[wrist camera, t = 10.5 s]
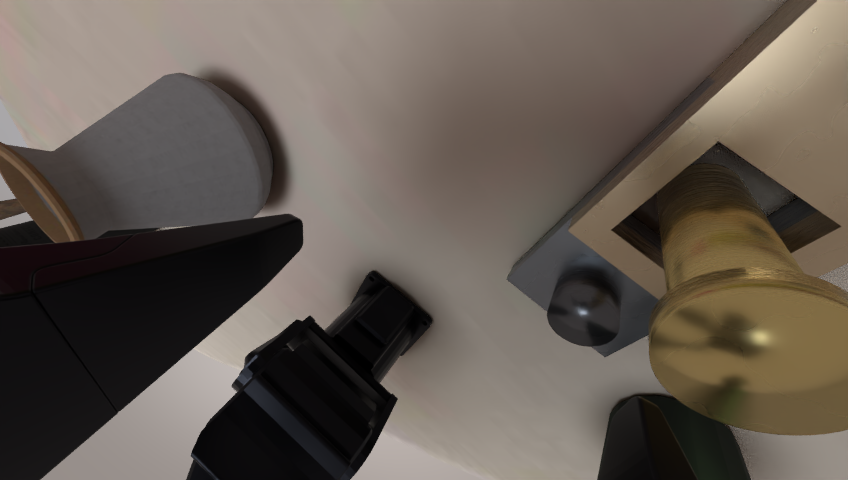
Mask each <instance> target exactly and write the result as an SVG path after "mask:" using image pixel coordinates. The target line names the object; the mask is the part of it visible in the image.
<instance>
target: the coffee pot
mask: <svg viewBox="0 0 848 480" xmlns="http://www.w3.org/2000/svg"><path fill="white" fill-rule="evenodd" d="M0 173H1V175H2V177H3V179H4V180H5V182H6V184H7V185H8V186H9V188H10V190H11V191H12V193H13V194H14V196H15V197H16V198H17V199H11V200H5V201H0V220H2V219H5V218H8V217H12V216H15V215H18V214H21V213H24V212H27V213H28V214H29V215H30V216H31V218H32V219H33V220H34V221H35V222H36V224H37V225H38V226H39V227H40V228H41V229H42V230H43V231H44V232H45V233H46V234H47V235H48V236H49V237H50V238H51V239H52V240H53V241H54V242H55V243H58V242H69V241H80V240H89V239H96V238H98V237H99V236H101V235H102V234H104V233H105V232H107V231H109V230H127V229H145V228H162V227H180V226H197V225H206V224H213V223H221V222H229V221H236V220H244V219H251V218H253V217H254V216H255V215H257V214H258V213H259V212H260V210H261V209H262V208H263V206H264V205H265V203H266V201H267V198H268V196H269V193H270V188H271V178H272V176H273V159H272V153H271V150H270V147H269V144H268V140H267V138H266V136H265V134H264V132H263V130H262V128H261V127H260V125H259V124H258V122H257V121H256V119H255V118H254V117H253V115H252V114H251V113H250V112H249V111H248V110H247V109H246V108H245V107H244V106H243V105H242V104H240V103H239V102H237V101H236V100H235V99H234V98H233V97H231V96H230V95H228V94H227V93H226V92H224V91H223V90H221V89H220V88H218V87H217V86H215V85H214V84H213V83H211V82H209V81H206V80H203V79H200V78H197V77H193V76H190V75H187V74H184V73H175V74H169V75H165V76H163V77H162V78H160V79H159V80H157V81H156V82H154V83H153V84H151V85H150V86H148V87H147V88H145V89H144V90H143V91H141V92H140V93H138V94H137V95H135V96H134V97H132V98H131V99H129V100H128V101H126V102H125V103H124V104H122V105H121V106H119V107H118V108H116V109H115V110H113V111H112V112H110V113H109V114H107V115H106V116H104V117H103V118H102V119H100V120H99V121H97V122H96V123H94V124H93V125H91V126H90V127H88V128H87V129H85V130H84V131H82V132H81V133H80V134H78V135H77V136H75V137H74V138H72V139H71V140H69V141H68V142H66V143H65V144H63V145H62V146H60V147H59V148H58V149H56V150H55V151H44V150H38V149H31V148H24V147H18V146H11V145H5V144H3V143H1V142H0Z"/></svg>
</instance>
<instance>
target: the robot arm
mask: <svg viewBox="0 0 848 480" xmlns="http://www.w3.org/2000/svg"><path fill="white" fill-rule="evenodd" d="M302 245H303V223H302V221H301V220H300V219H299V218H297V217H295V216H293V215H291V214H282V215H274V216H266V217H259V218H251V219H244V220H236V221H229V222H221V223H213V224H206V225H198V226H191V227H183V228H175V229H168V230H160V231H153V232H145V233H137V234H135V235H133V234H129V235H122V236H115V237H106V238H98V239H89V240H80V241H69V242H58V243H47V244H35V245H23V246H12V247H0V480H40V479H42V478H43V477H44V476H45V475H46V474H47V473H48V472H50V471H51V470H52V469H53V468H54V467H56V466H57V465H58V464H59V463H60V462H61V461H63V460H64V459H65V458H66V457H67V456H68V455H70V454H71V453H72V452H73V451H74V450H75V449H77V448H78V447H79V446H80V445H81V444H82V443H84V442H85V441H86V440H87V439H88V438H89V437H91V436H92V435H93V434H94V433H95V432H96V431H98V430H99V429H100V428H101V427H102V426H103V425H104V424H106V423H107V422H108V421H109V420H110V419H111V418H113V417H114V416H115V415H116V414H117V413H118V412H119V411H121V410H122V409H123V408H124V407H125V406H126V405H128V404H129V403H130V402H131V401H132V400H133V399H135V398H136V397H137V396H138V395H139V394H140V393H142V392H143V391H144V390H145V389H146V388H147V387H149V386H150V385H151V384H152V383H153V382H154V381H156V380H157V379H158V378H159V377H160V376H162V375H163V374H164V373H165V372H166V371H167V370H168V369H170V368H171V367H172V366H173V365H174V364H176V363H177V362H178V361H179V360H180V359H181V358H182V357H184V356H185V355H186V354H187V353H188V352H189V351H191V350H192V349H193V348H194V347H195V346H197V345H198V344H199V343H200V342H201V341H202V340H204V339H205V338H206V337H207V336H208V335H209V334H211V333H212V332H213V331H214V330H215V329H216V328H218V327H219V326H220V325H221V324H222V323H223V322H225V321H226V320H227V319H228V318H229V317H230V316H232V315H233V314H234V313H235V312H236V311H237V310H239V309H240V308H241V307H242V306H243V305H244V304H246V303H247V302H248V301H249V300H250V299H251V298H253V297H254V296H255V295H256V294H257V293H258V292H259V291H261V290H262V289H263V288H264V287H265V286H266V285H267V284H268V283H269V282H270V281H271V280H272V279H273V278H274V277H275V276H276V275H277V274H278V273H279V272H280V271H281V270H282V268H283V267H284V266H285V265H286V264H287V263H288V262H289V261H290V260H291V259H292V258H293V257H294V256H295V255H296V254H297V253H298V252H299V251H300V249H301V248H302ZM431 324H432V319H431V318H430V317H429V316H428V315H427V314H425V313H424V312H423V311H422V310H421V309H419V308H418V307H417V306H416V305H415V304H413V303H412V302H411V301H410V300H409V299H407V298H406V297H405V296H404V295H403V294H401V293H400V292H399V291H398V290H396V289H395V288H394V287H393V286H392V285H390V284H389V283H388V282H387V281H386V280H384V279H383V278H382V277H381V276H380V275H378V274H377V273H376V272H374V271H371V272H370V273H369V274H368V275H367V276H366V278H365V280H364V281H363V283H362V285H361V287H360V289H359V290H358V292H357V294H356V296H355V298H354V299H353V301H352V303H351V305H350V306H349V307H348V308H347V309H346V310H345V311H344V312H343V313H342V314H341V315H340V316H339V317H338V318H337V319H336V320H335V321H334V322H333V323H332V324H331V325H329V326H328V327H327V328H326V329H325V330H323V329H322V328H321V327H320V326H319V325H318V324H317V323H316V322H315V320H314V319H313V318H312V317H311V316H309V317H307V318H306V319H305V320H303V321H300V320H297V319H296V320H295V321H294V322H293V323H292V324H291V325H289V326H288V327H287V328H286V329H285V330H284V331H282V332H281V333H280V334H278V335H277V336H276V337H274V338H272V339H271V340H269V341H267V342H266V343H264V344H263V345H261V346H259V347H258V348H256V349H255V350H253V351H252V352H250V353H249V354H248V355H247V356H246V357H245V363H244V369H243V370H242V371H241V372H240V374H239V376H238V378H237V379H236V380H235V381H234V383H233V384H232V388H234V389H235V390H236V391H237V393H236V394H235V395H234V396H233V397H232V398H231V399H230V400H229V401H228V402H227V403H226V404H225V405H224V406H223V407H222V408H221V409H220V410H219V411H218V412H217V413H216V414H215V415H214V416H213V417H212V418H211V419H210V421H209V422H208V423H207V425H206V427H205V428H204V429H203V430H202V431H201V433H200V435H199V437H198V439H197V442H196V444H195V446H194V448H193V450H192V453H191V457H192V458H193V459H194V460H193V463H192V465H191V468H190V471H189V473H188V476H187V479H186V480H350V479H351V478H352V477H353V476H354V475H355V473H356V472H357V471H358V470H359V468H360V467H361V466H362V465H363V463H364V462H365V460H366V459H367V457H368V456H369V454H370V453H371V451H372V449H373V447H374V445H375V443H376V441H377V439H378V437H379V435H380V433H381V431H382V429H383V427H384V425H385V424H386V422H387V420H388V418H389V416H390V414H391V412H392V410H393V408H394V406H395V404H396V402H397V399H398V398H397V397H395V396H394V395H393V394H390V393H389V392H388V391H387V390H386V389H385V388H384V387H383V386H382V385H381V384H380V382H381V381H382V379H383V378H384V377H385V375H386V374H387V372H388V371H389V370H390V368H391V367H392V366H393V364H394V363H395V361H396V360H397V359H398V357H399V356H402V355H404V354H405V352H406V351H407V350H408V349H409V348H410V347H411V346H412V345H413V344H414V343H415V342H416V341H417V340H418V339H419V338H420V337H421V336H422V334H423V333H424V332H425V331H426V330H427V329H428V328H429V327H430V326H431ZM598 480H698V478H697V476H696V475H695V473H694V471H693V469H692V467H691V465H690V463H689V462H688V460H687V458H686V456H685V454H684V452H683V450H682V449H681V447H680V445H679V443H678V441H677V439H676V437H675V435H674V434H673V432H672V430H671V428H670V426H669V424H668V422H667V421H666V419H665V417H664V415H663V413H662V411H661V410H660V408H659V407H658V406H657V405H655V404H653V403H652V402H650V401H648V400H646V399H644V398H642V397H640V396H635V397H633V398H632V399H631V400H629V401H628V402H627V403H626V404H625V405H624V406H623V407H622V408H621V409H620V410H619V411H617V412H616V414H615V415H614V416H613V418H612V421H611V424H610V428H609V433H608V437H607V442H606V446H605V451H604V455H603V460H602V464H601V469H600V473H599V478H598Z"/></svg>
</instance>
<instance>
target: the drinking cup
mask: <svg viewBox="0 0 848 480" xmlns="http://www.w3.org/2000/svg"><path fill="white" fill-rule="evenodd" d="M157 229H159V228H145V229H127V230H109V231H107V232H105V233H104V234H102V235H101V236H99V237H98V238H106V237H115V236H122V235H129V234H133V235H135V234H137V233H145V232H153V231H155V230H157ZM98 238H96V239H98ZM47 243H55V242H54V241H53V240H52V239H51V238H50V237H49V236H48V235H47V234H46V233H45V232H44V231H43V230H42V229H41V228H40V227H39V226H38V225H37V224H36V222H35V221H34V220H33V221H29V222H25V223H21V224H17V225H13V226H8V227H4V228H0V247H12V246H23V245H35V244H47Z"/></svg>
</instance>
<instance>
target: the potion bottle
mask: <svg viewBox="0 0 848 480" xmlns="http://www.w3.org/2000/svg"><path fill="white" fill-rule="evenodd" d="M640 397H642V398H644V399H646V400H648V401H650V402H652V403H653V404H655V405H657V406H658V407H659V408H660V410H661V411H662V413H663V415H664V417H665V419H666V421H667V422H668V424H669V426H670V428H671V430H672V432H673V434H674V435H675V437H676V439H677V441H678V443H679V445H680V447H681V449H682V450H683V452H684V454H685V456H686V458H687V460H688V462H689V463H690V465H691V467H692V469H693V471H694V473H695V475H696V476H697V478H698V480H751V478H750V476H749V473H748V470H747V467H746V464H745V462H744V459H743V456H742V453H741V450H740V448H739V445H738V444H737V442H736V440H735V438H734V436H733V434H732V432H731V430H730V429H728V428H727V427H726V426H725V425H724V424H722V423H721V422H719V421H716V420H714V419H711V418H709V417H706V416H704V415H702V414H700V413H698V412H696V411H694V410H693V409H691V408H689V407H687V406H686V405H684V404H683V403H681V402H680V401H679V400H676V399H672V398H667V397H663V396H640ZM630 400H631V399H630ZM628 401H629V400H627V401H624V402H621V403H619V404H618V405H617V406H616V407H615V409H614V410H613V411H612V412H611V413H610V417H609V422H608V427H607V433H606V438H605V443H604V448H603V453H602V459H601V464H602V460H603V455H604V451H605V446H606V442H607V437H608V433H609V428H610V424H611V421H612V418H613V416H614V415H615V414H616V412H617V411H619V410H620V409H621V408H622V407H623V406H624V405H625V404H626V403H627V402H628ZM601 464H600V469H601ZM600 469H599V473H600ZM598 478H599V474H598ZM597 480H598V479H597Z"/></svg>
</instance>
